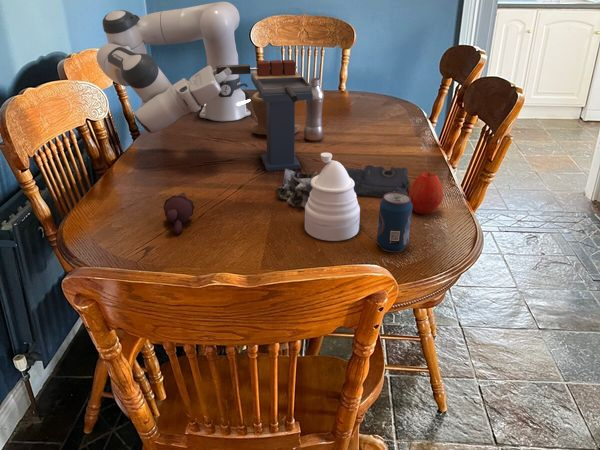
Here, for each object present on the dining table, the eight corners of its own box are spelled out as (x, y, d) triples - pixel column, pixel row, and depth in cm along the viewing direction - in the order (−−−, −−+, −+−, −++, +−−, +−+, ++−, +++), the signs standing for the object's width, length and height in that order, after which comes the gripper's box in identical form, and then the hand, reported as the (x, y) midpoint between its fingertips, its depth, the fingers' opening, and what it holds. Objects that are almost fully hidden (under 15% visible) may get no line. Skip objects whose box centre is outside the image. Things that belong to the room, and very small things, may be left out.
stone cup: (246, 138, 190) (244, 93, 183) (258, 127, 200) (257, 84, 193) (289, 142, 186) (290, 97, 179) (300, 131, 196) (300, 88, 189)
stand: (253, 150, 179) (251, 73, 168) (293, 148, 182) (294, 72, 170) (265, 181, 158) (263, 95, 147) (310, 177, 161) (312, 93, 150)
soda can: (376, 237, 131) (380, 189, 125) (406, 239, 130) (412, 191, 124) (376, 252, 124) (381, 203, 119) (408, 254, 124) (414, 205, 118)
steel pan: (257, 84, 157) (256, 77, 157) (302, 82, 160) (303, 75, 159) (268, 104, 140) (268, 96, 139) (320, 101, 143) (320, 94, 142)
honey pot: (296, 234, 131) (297, 161, 123) (315, 211, 142) (317, 142, 133) (350, 245, 127) (354, 170, 119) (365, 220, 138) (370, 150, 129)
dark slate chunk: (329, 171, 165) (330, 156, 162) (406, 176, 162) (408, 161, 160) (324, 193, 151) (325, 177, 149) (408, 199, 149) (410, 182, 146)
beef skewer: (216, 75, 162) (215, 62, 160) (295, 72, 166) (295, 59, 164) (217, 78, 159) (216, 65, 157) (297, 75, 163) (298, 62, 161)
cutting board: (251, 74, 167) (251, 71, 166) (295, 73, 169) (295, 69, 169) (256, 83, 158) (256, 79, 158) (302, 81, 161) (302, 77, 160)
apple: (446, 216, 140) (452, 176, 135) (416, 220, 138) (421, 179, 133) (430, 202, 147) (436, 163, 142) (401, 206, 145) (406, 166, 140)
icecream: (164, 184, 140) (151, 216, 127) (193, 177, 139) (183, 209, 126) (174, 207, 144) (163, 241, 131) (202, 201, 143) (193, 235, 130)
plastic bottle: (323, 136, 192) (325, 76, 182) (322, 143, 186) (324, 81, 177) (304, 135, 192) (305, 76, 183) (302, 142, 186) (303, 81, 177)
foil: (329, 176, 153) (320, 164, 139) (321, 215, 153) (312, 208, 138) (287, 169, 156) (275, 157, 141) (279, 208, 155) (266, 200, 140)
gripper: (192, 94, 171) (231, 69, 170) (196, 114, 154) (239, 86, 153) (180, 76, 168) (220, 51, 167) (182, 94, 151) (227, 66, 150)
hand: (229, 68), depth 160 cm, fingers closed on beef skewer, 2 cm apart
